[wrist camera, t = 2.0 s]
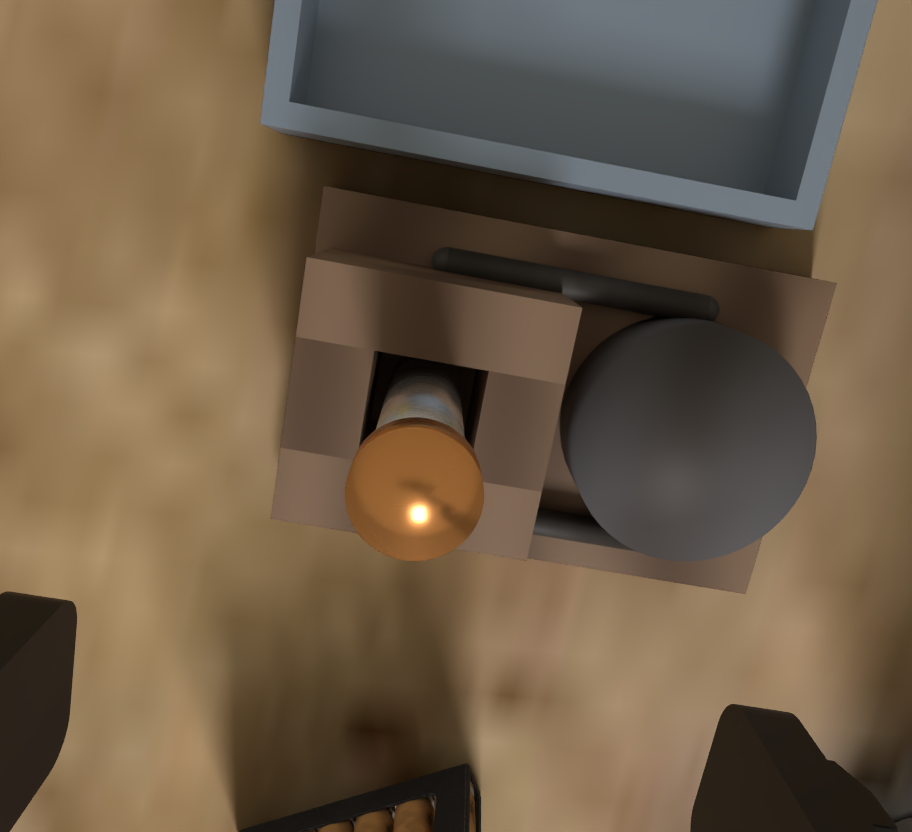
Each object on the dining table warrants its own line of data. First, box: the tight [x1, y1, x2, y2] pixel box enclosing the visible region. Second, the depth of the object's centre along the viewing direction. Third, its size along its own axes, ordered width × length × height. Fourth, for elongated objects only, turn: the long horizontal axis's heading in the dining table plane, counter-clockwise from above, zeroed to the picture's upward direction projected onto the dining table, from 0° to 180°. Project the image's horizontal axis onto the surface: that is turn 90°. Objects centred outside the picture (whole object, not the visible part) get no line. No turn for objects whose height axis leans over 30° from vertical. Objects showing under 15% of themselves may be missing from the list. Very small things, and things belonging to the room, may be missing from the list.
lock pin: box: [345, 356, 484, 561], centre depth 24 cm, size 3×3×12 cm
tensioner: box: [271, 186, 837, 594], centre depth 28 cm, size 18×12×7 cm, turn 80°
